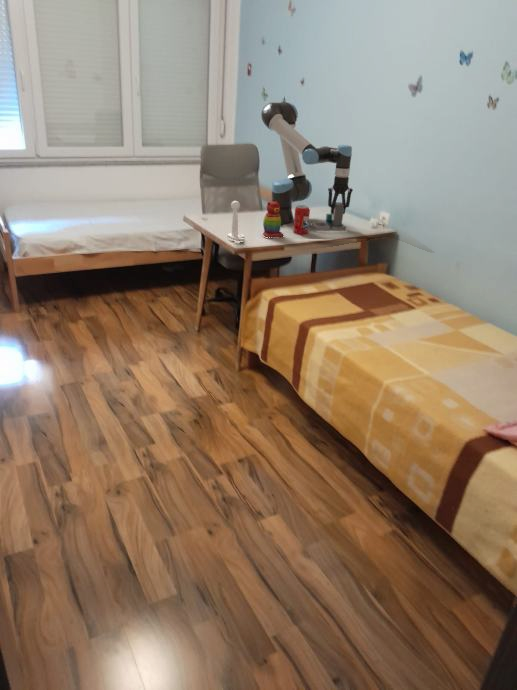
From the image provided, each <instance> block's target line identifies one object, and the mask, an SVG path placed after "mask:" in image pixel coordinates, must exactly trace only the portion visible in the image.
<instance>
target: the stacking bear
mask: <svg viewBox="0 0 517 690" xmlns="http://www.w3.org/2000/svg"><path fill="white" fill-rule="evenodd" d="M266 204H267V205H266V211H267V212H266V213H265V215H264V218H263V223H262V224H263V225H262V226H263V233H262V236H263V235H264V236H265V237H268V238H269V237H270V238H271V237H283V236H284V237H285V234H284V233H283V232H281V227H282V225H281V218H280V214H279V213H278V212H279V211H280V206H279V202H278V201H276V202H272V201H268V202H267V203H266ZM265 237H264V238H265ZM284 237H283V238H284ZM271 239H272V238H271Z"/></svg>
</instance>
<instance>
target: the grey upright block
mask: <svg viewBox="0 0 517 690" xmlns="http://www.w3.org/2000/svg"><path fill="white" fill-rule="evenodd" d="M334 208H335V218H334V220H332V225H333V226H341V225H342V224H343V220H342V217H343V218H344V214H343V208H344V204H342V201H341V202H337V201H336V204H335V207H334Z"/></svg>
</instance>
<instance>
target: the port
mask: <svg viewBox="0 0 517 690" xmlns="http://www.w3.org/2000/svg"><path fill="white" fill-rule="evenodd" d="M325 222H326V223H327V224H328V225H329V226H330V229H331V230H346V229H347V226H346V225H345V224H344V223H342V225H341V226H333V225H332V214H331V213H326V214H325ZM346 231H347V230H346Z"/></svg>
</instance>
